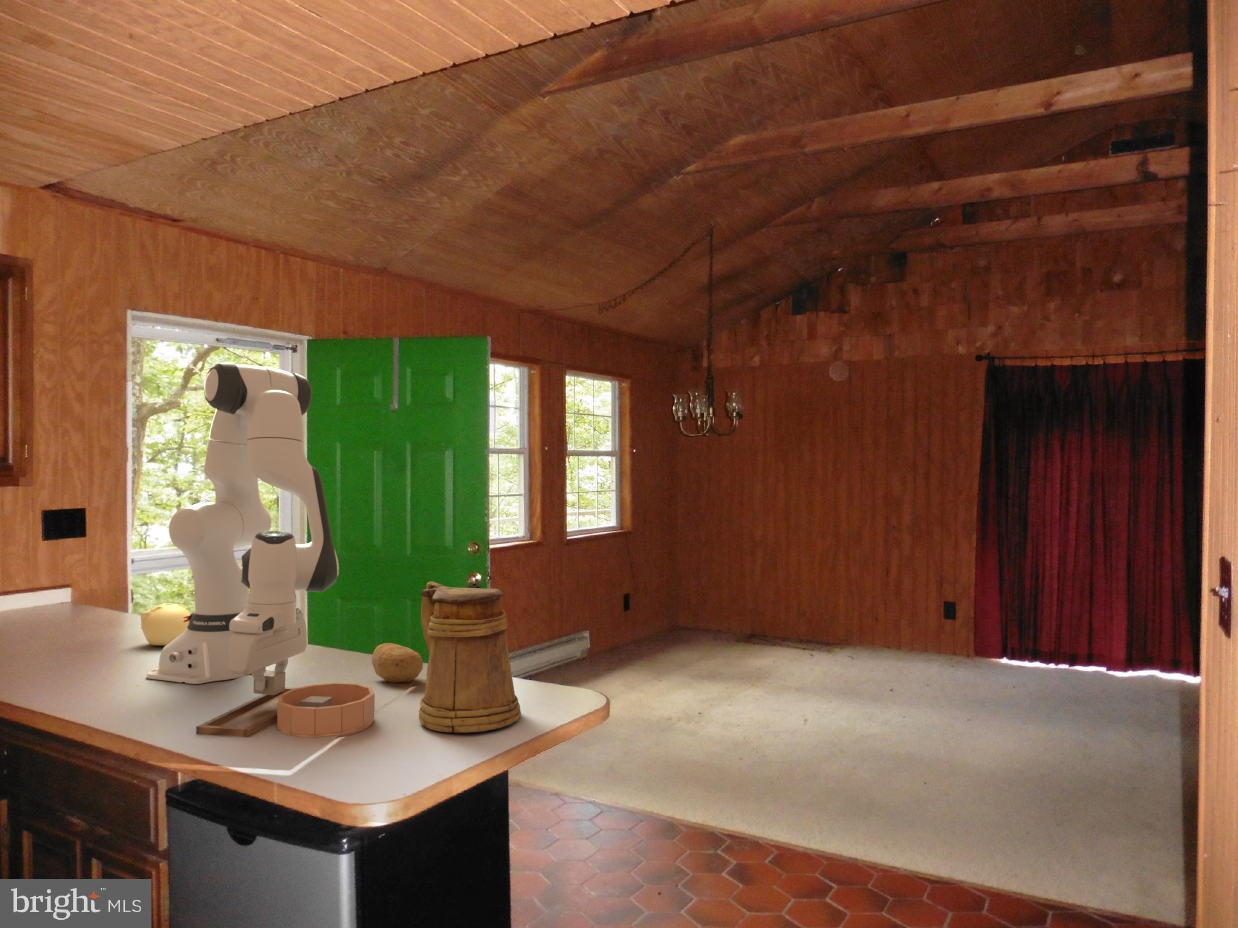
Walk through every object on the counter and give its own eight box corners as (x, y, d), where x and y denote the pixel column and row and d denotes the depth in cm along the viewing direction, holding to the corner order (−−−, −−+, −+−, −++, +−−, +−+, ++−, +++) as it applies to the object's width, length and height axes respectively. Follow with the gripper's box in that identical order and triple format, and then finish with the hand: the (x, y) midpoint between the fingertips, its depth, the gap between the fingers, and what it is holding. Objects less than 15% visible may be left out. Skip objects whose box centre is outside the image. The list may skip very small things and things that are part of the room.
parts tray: (196, 737, 144) (196, 726, 144) (278, 695, 170) (278, 686, 170) (249, 740, 143) (249, 729, 143) (323, 697, 168) (323, 688, 168)
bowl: (258, 737, 144) (258, 705, 144) (307, 709, 161) (307, 680, 161) (347, 742, 142) (348, 710, 142) (388, 713, 158) (388, 684, 158)
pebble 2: (253, 693, 159) (253, 674, 159) (264, 687, 163) (265, 669, 163) (273, 695, 159) (274, 676, 158) (284, 690, 162) (285, 671, 162)
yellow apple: (179, 637, 224) (179, 598, 224) (201, 643, 217) (202, 602, 217) (134, 645, 215) (134, 603, 215) (156, 651, 208) (156, 608, 208)
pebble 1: (300, 721, 150) (300, 701, 150) (310, 715, 154) (310, 695, 154) (322, 722, 150) (322, 702, 150) (332, 716, 153) (332, 696, 153)
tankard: (472, 743, 142) (473, 598, 142) (381, 718, 155) (382, 586, 155) (539, 717, 157) (540, 586, 157) (451, 696, 170) (452, 575, 170)
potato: (395, 692, 173) (396, 654, 173) (361, 680, 182) (361, 644, 182) (435, 683, 180) (435, 647, 180) (400, 672, 189) (400, 637, 189)
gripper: (288, 604, 171) (286, 671, 172) (223, 624, 151) (220, 698, 151) (316, 607, 170) (313, 673, 170) (253, 626, 150) (251, 702, 150)
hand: (269, 685), depth 161 cm, fingers closed on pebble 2, 4 cm apart
